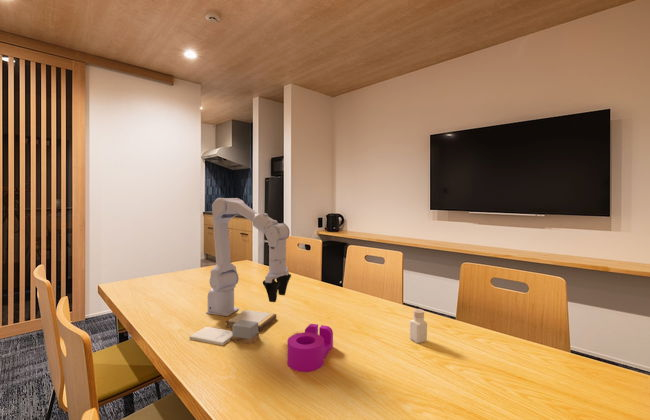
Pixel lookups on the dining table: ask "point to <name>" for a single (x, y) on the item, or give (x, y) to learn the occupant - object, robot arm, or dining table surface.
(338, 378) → the dining table surface
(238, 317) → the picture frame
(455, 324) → the dining table surface
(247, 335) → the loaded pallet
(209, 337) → the external hard drive
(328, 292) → the dining table surface
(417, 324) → the salt shaker
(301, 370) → the magenta clevis bracket
